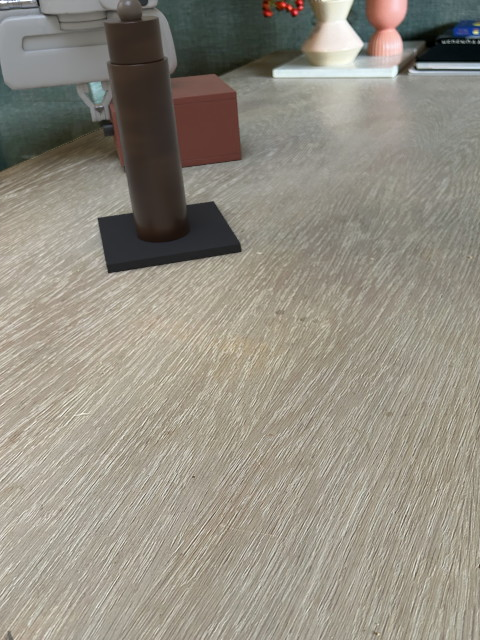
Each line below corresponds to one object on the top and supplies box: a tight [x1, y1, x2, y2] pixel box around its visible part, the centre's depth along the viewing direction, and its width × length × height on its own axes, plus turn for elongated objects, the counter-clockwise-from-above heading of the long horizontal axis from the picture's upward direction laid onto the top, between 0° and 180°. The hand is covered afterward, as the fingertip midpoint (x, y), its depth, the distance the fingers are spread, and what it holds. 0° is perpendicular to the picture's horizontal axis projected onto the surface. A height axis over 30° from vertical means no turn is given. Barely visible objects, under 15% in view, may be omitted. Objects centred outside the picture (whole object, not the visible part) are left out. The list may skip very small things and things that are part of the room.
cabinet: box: [170, 73, 242, 168], centre depth 86 cm, size 14×13×8 cm
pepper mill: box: [103, 0, 190, 243], centre depth 58 cm, size 5×5×20 cm
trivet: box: [97, 200, 242, 274], centre depth 64 cm, size 12×12×1 cm
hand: (101, 120), depth 83 cm, fingers closed, pressing on drawer
